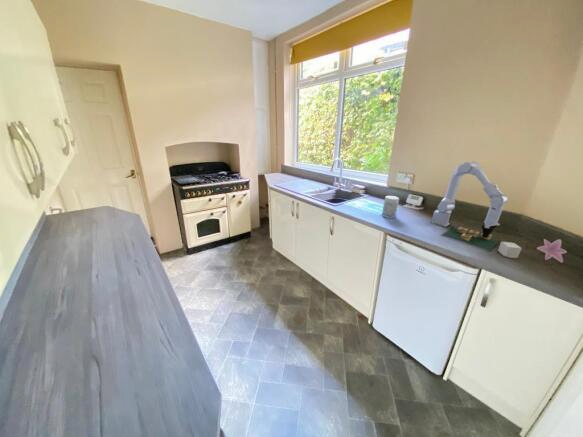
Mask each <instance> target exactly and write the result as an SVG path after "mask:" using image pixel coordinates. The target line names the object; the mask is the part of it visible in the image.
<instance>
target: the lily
mask: <svg viewBox="0 0 583 437" xmlns="http://www.w3.org/2000/svg"><path fill="white" fill-rule="evenodd" d="M543 244H544V245H540V246H538V247H537V246H536V250H538V251H541V254H542V255H543V254H545V255H544V261H548V260H551V258H553V259H555V260H556V261H558V262H559V263H561V264H563V263H564V258H563V255H562V254H566V253H568V251H567V250H566V249H564V248H562V239H561V238H560V239H556V240H555V241H552V242H550V241H549V240H547V239H546V238H543Z"/></svg>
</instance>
